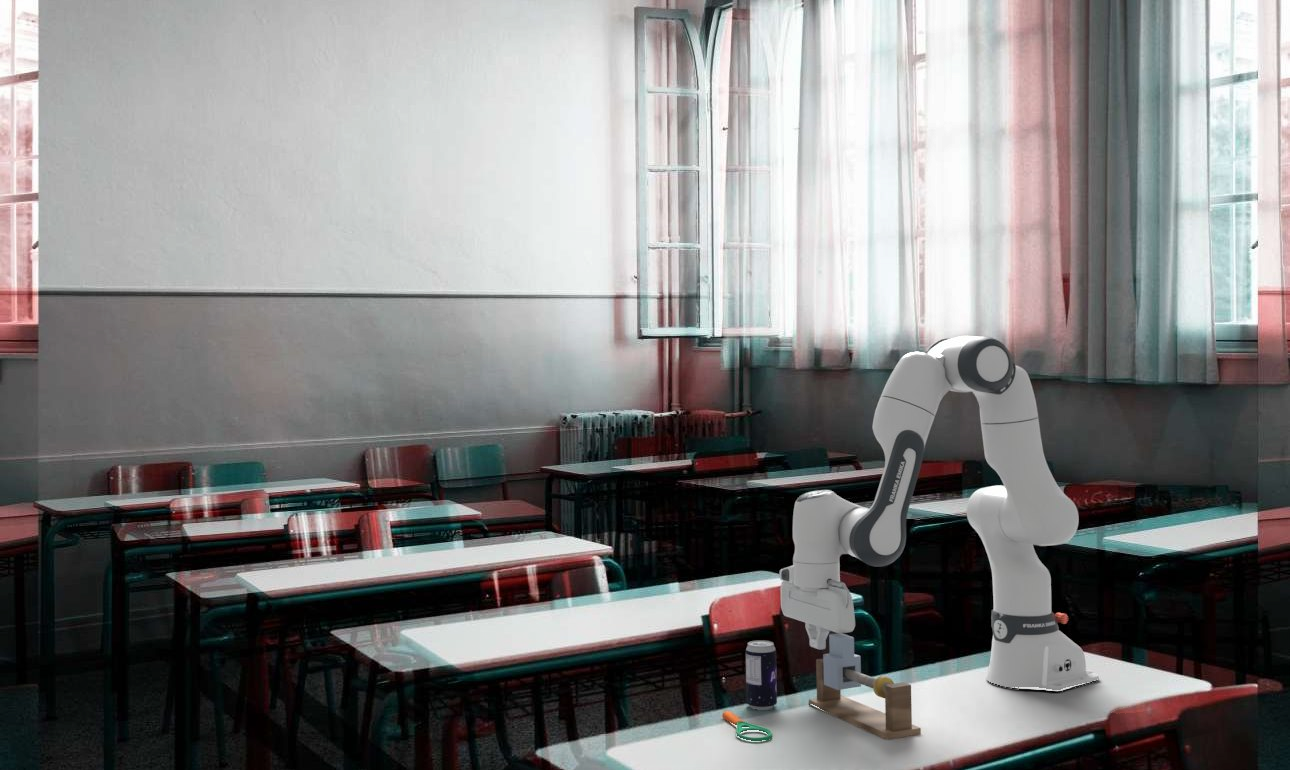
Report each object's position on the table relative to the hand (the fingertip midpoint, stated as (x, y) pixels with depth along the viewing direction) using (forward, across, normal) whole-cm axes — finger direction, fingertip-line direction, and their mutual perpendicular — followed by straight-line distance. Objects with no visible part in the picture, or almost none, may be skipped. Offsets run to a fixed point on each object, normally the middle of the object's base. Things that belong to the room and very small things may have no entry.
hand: (817, 647), depth 218 cm
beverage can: (+10, +1, +12) cm, 16 cm away
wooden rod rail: (+10, -14, 0) cm, 17 cm away
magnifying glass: (+11, -9, +22) cm, 26 cm away
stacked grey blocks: (+5, -8, 0) cm, 10 cm away
